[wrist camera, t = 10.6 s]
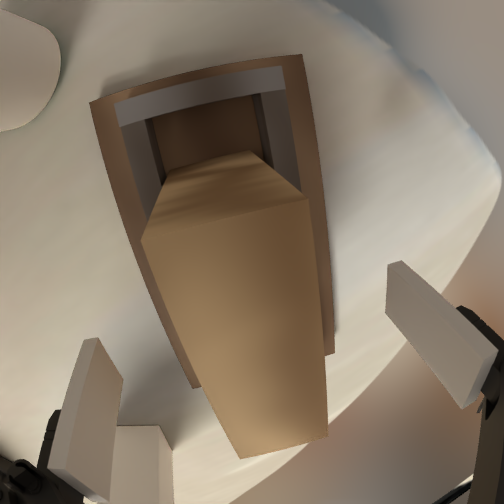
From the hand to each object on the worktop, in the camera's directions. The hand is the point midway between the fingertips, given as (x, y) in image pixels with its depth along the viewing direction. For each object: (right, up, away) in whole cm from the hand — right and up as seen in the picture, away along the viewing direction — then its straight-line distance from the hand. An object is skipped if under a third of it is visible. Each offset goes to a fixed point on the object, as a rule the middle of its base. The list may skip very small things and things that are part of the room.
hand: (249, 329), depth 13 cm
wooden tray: (-1, +4, +8) cm, 9 cm away
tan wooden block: (-1, +3, +6) cm, 7 cm away
